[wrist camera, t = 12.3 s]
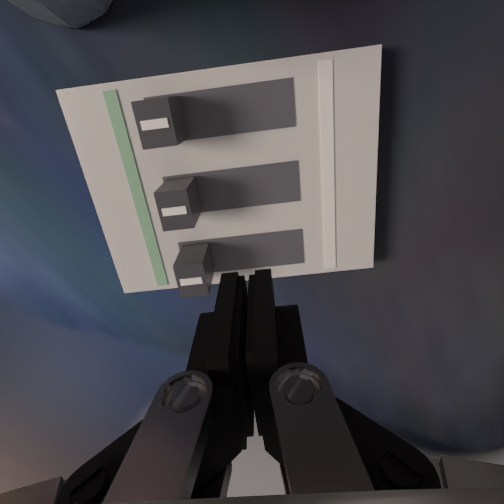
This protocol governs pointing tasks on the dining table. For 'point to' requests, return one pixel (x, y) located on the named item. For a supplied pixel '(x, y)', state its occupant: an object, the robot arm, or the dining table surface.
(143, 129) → the block
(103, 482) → the robot arm
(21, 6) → the moka pot
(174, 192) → the block
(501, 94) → the dining table surface
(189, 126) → the panel
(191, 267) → the breaker
